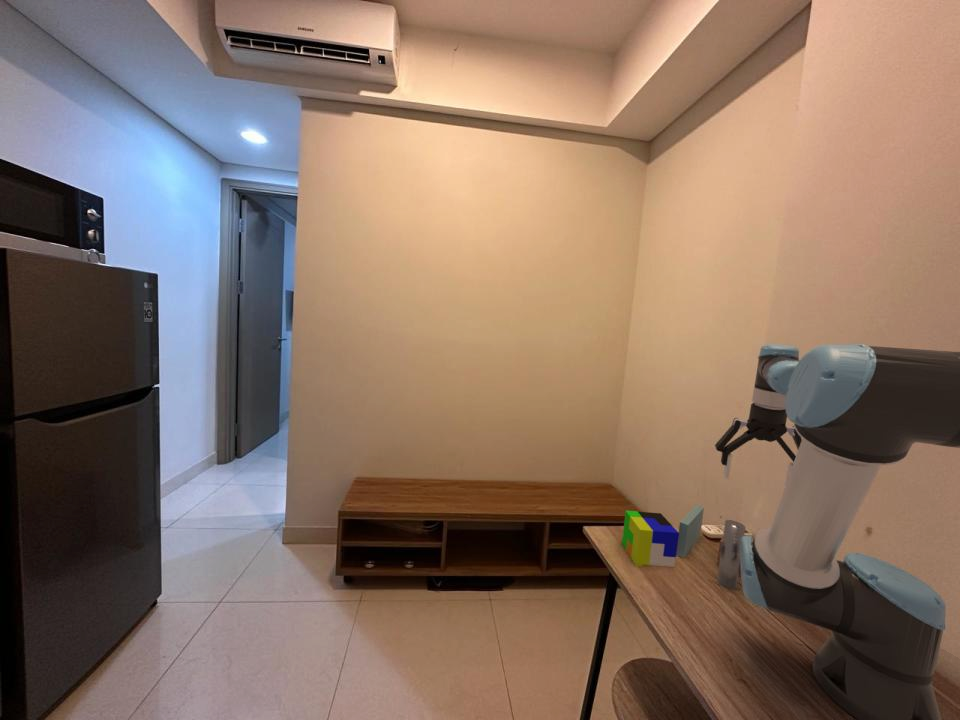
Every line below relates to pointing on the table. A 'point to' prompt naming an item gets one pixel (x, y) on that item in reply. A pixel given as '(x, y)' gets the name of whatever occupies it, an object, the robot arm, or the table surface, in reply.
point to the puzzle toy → (650, 539)
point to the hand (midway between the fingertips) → (756, 482)
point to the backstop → (689, 530)
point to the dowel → (730, 555)
